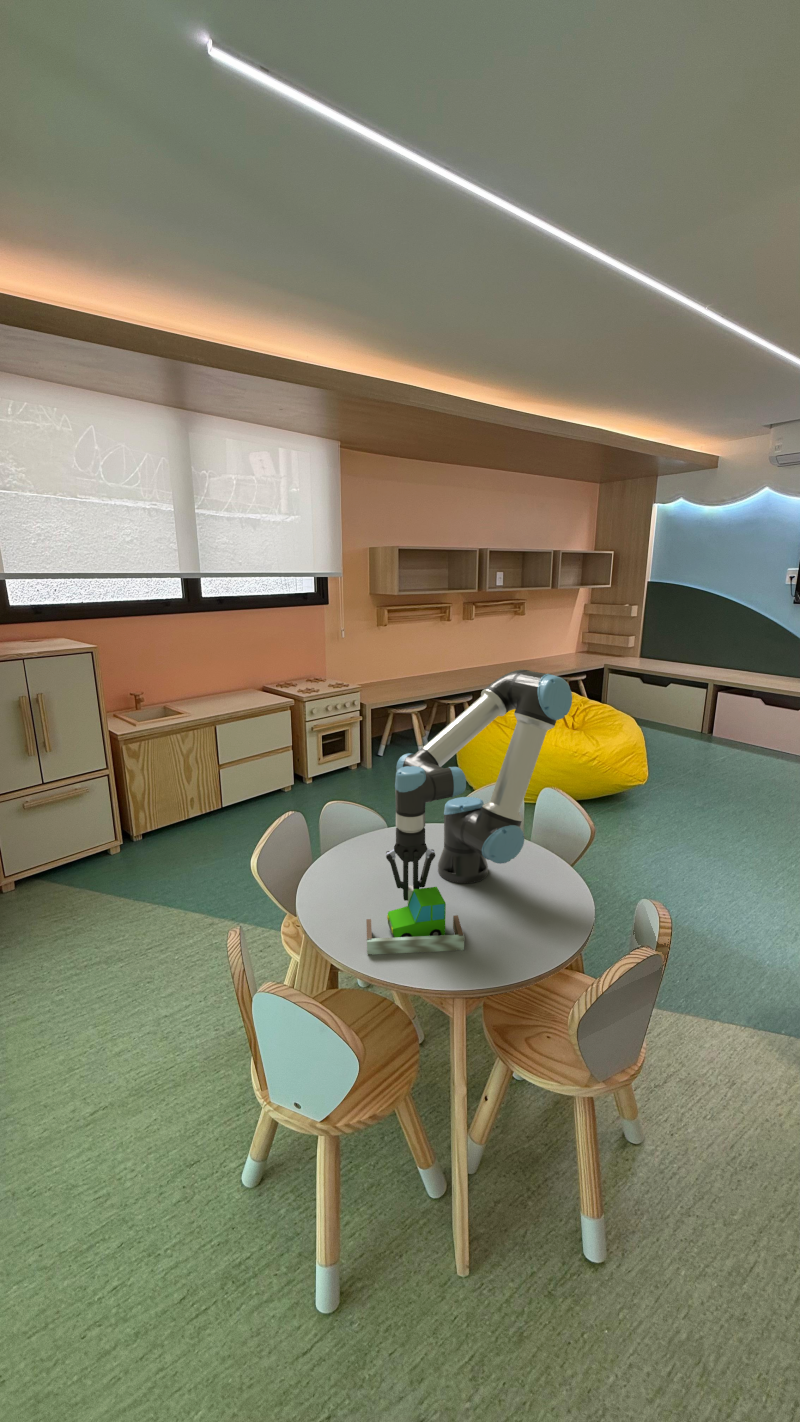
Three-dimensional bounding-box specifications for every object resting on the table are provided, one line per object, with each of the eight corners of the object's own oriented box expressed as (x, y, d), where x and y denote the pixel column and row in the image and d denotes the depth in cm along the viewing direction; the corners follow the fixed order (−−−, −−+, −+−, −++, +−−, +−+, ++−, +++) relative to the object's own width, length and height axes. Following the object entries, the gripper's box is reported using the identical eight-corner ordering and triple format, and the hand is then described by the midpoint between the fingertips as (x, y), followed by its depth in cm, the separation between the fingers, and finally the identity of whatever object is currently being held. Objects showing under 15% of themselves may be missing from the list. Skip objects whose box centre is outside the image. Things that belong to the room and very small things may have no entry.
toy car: (386, 925, 158) (385, 890, 156) (435, 919, 161) (435, 884, 158) (393, 948, 148) (393, 911, 146) (446, 941, 151) (446, 905, 149)
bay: (457, 927, 156) (457, 915, 156) (463, 950, 147) (464, 937, 146) (366, 931, 155) (366, 919, 154) (367, 954, 146) (366, 941, 145)
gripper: (434, 820, 159) (433, 901, 164) (384, 822, 158) (385, 903, 163) (437, 832, 151) (437, 917, 157) (385, 834, 151) (386, 919, 156)
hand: (410, 910), depth 160 cm, fingers closed
